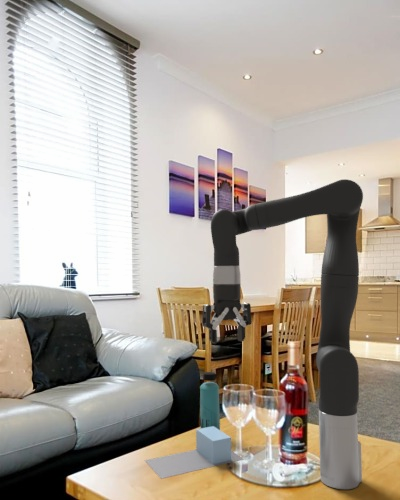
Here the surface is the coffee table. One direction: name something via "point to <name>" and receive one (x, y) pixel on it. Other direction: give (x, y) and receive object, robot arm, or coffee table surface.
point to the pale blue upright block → (213, 444)
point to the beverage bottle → (209, 402)
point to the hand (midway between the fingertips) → (227, 342)
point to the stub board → (183, 463)
